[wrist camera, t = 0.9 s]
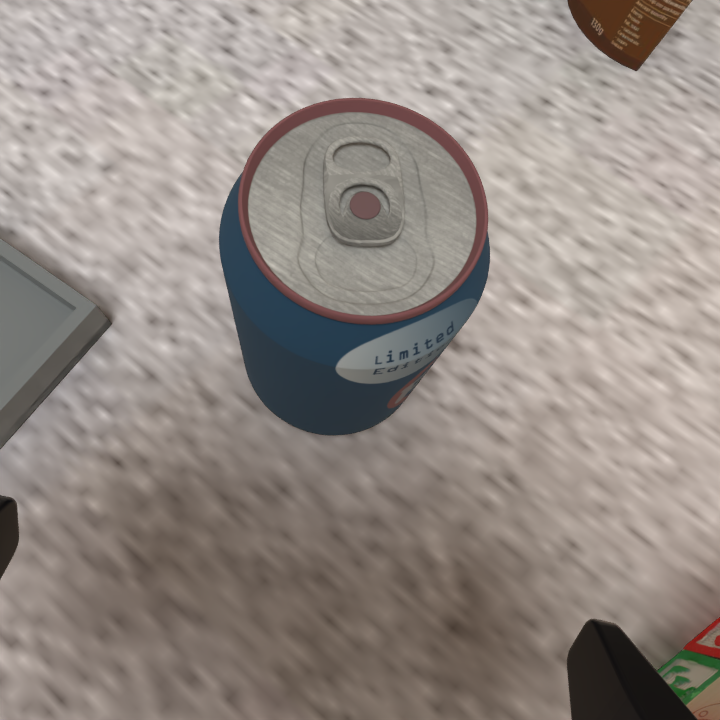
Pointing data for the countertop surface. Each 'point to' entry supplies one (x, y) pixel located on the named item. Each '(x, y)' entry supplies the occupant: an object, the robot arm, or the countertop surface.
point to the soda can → (351, 259)
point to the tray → (38, 335)
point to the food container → (626, 25)
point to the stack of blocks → (698, 674)
